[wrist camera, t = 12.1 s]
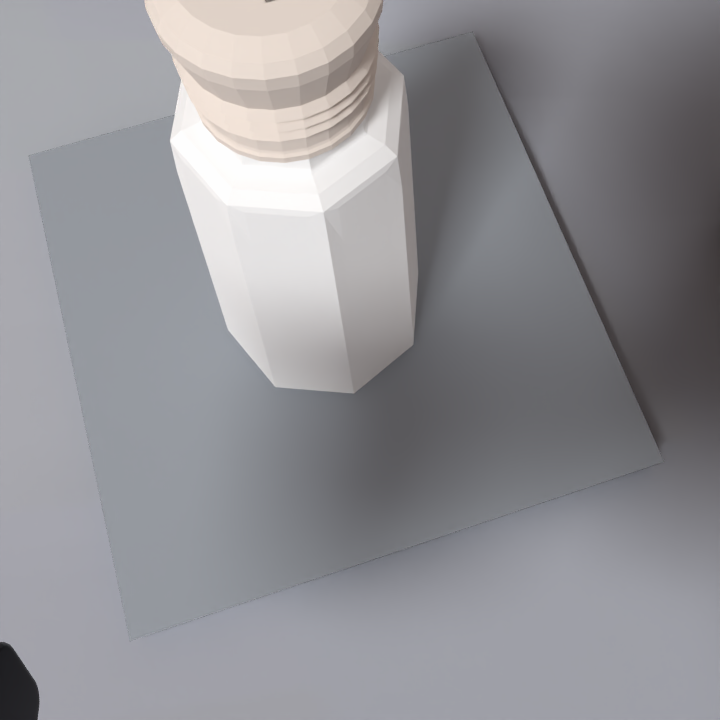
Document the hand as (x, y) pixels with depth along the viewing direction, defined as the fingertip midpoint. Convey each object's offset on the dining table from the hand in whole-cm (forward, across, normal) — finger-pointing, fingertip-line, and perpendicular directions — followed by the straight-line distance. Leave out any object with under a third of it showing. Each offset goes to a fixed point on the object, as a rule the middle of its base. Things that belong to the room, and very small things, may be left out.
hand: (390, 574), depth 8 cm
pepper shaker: (+11, 0, +1) cm, 11 cm away
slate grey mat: (+12, 0, +2) cm, 12 cm away
